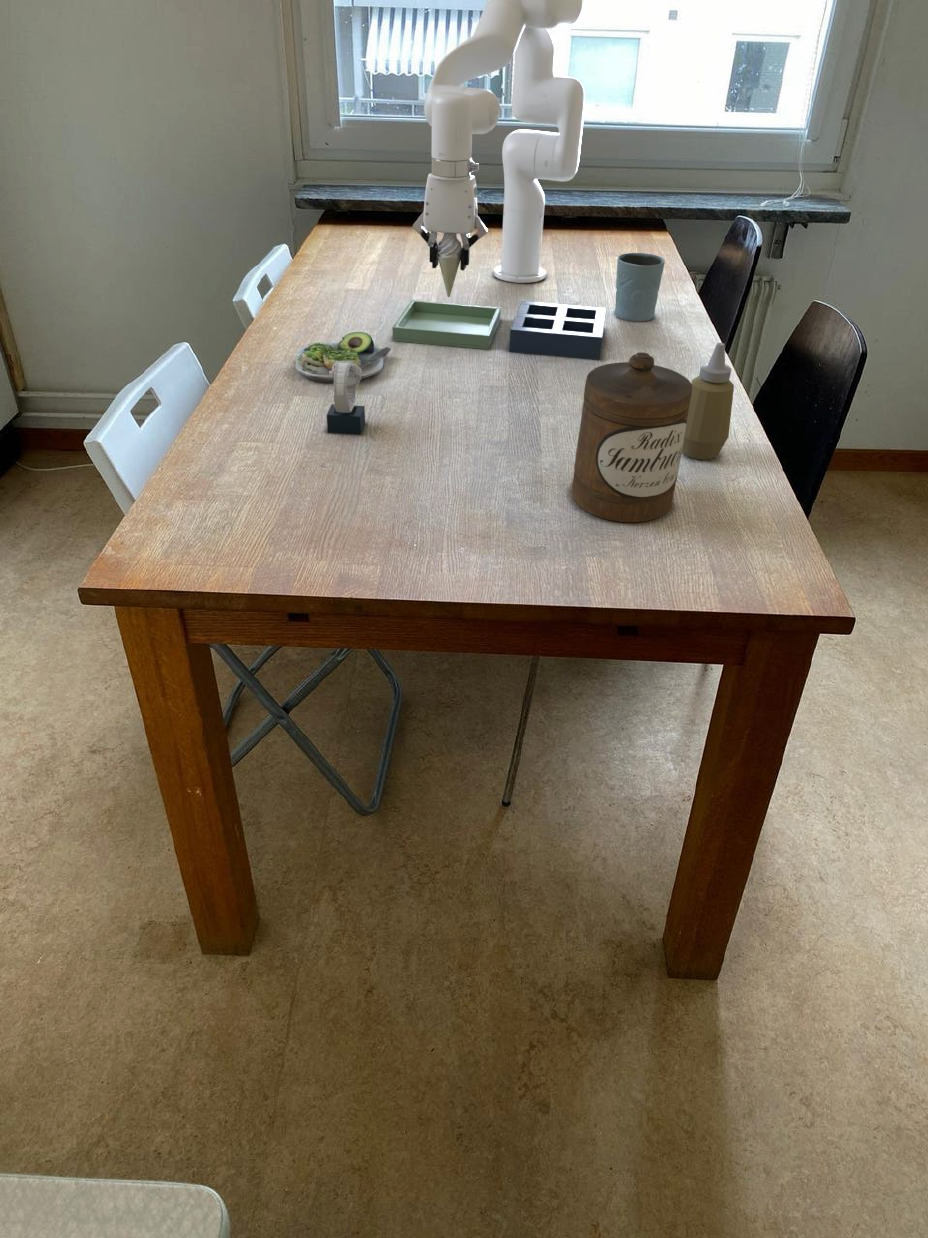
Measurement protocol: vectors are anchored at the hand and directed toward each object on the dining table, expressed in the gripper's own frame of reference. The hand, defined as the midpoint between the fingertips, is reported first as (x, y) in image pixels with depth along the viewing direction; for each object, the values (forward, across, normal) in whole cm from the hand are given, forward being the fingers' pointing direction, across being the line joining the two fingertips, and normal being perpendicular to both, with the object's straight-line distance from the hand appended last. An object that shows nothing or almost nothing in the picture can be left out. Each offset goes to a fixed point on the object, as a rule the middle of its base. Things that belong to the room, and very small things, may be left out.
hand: (449, 266), depth 184 cm
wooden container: (+13, -38, +64) cm, 76 cm away
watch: (+13, +8, +50) cm, 52 cm away
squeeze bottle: (+13, -50, +46) cm, 69 cm away
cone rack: (+13, -23, 0) cm, 26 cm away
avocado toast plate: (+13, +16, +24) cm, 32 cm away
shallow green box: (+13, 0, 0) cm, 13 cm away
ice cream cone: (+6, 0, 0) cm, 6 cm away
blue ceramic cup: (+13, -38, -20) cm, 45 cm away
